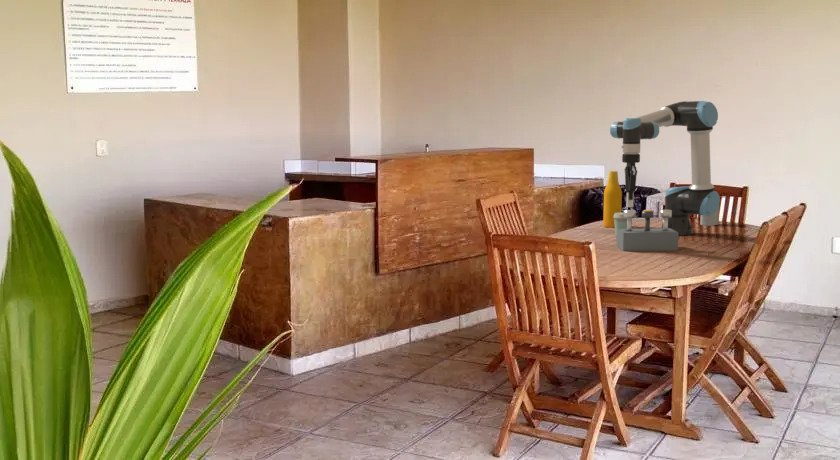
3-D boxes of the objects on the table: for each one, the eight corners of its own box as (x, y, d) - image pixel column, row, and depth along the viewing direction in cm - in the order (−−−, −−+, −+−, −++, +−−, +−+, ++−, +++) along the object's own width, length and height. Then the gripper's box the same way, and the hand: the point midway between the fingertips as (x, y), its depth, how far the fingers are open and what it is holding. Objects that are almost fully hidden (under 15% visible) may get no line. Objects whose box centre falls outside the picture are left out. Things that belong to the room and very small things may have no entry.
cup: (720, 225, 454) (721, 203, 453) (703, 226, 454) (704, 203, 453) (715, 223, 463) (716, 201, 462) (698, 223, 463) (698, 201, 462)
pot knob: (651, 235, 389) (652, 209, 387) (654, 236, 384) (655, 211, 383) (640, 235, 389) (640, 209, 387) (643, 237, 384) (643, 211, 383)
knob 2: (669, 235, 389) (669, 209, 388) (672, 236, 384) (673, 210, 383) (658, 235, 389) (658, 209, 387) (661, 236, 384) (661, 211, 383)
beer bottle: (599, 226, 458) (600, 171, 454) (614, 224, 462) (615, 170, 458) (610, 228, 450) (611, 172, 446) (624, 227, 453) (626, 171, 449)
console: (669, 245, 393) (670, 228, 392) (677, 250, 382) (678, 232, 380) (616, 246, 393) (617, 228, 392) (623, 250, 381) (623, 232, 380)
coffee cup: (631, 239, 412) (632, 214, 410) (613, 239, 414) (613, 214, 412) (630, 236, 420) (631, 212, 419) (612, 236, 422) (613, 212, 420)
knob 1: (633, 235, 389) (634, 209, 387) (636, 237, 384) (636, 211, 382) (622, 235, 389) (622, 210, 387) (624, 237, 384) (625, 211, 382)
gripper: (619, 152, 388) (617, 205, 391) (626, 154, 375) (624, 208, 378) (636, 152, 388) (634, 205, 391) (643, 154, 375) (642, 208, 378)
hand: (629, 206), depth 385 cm, fingers closed
